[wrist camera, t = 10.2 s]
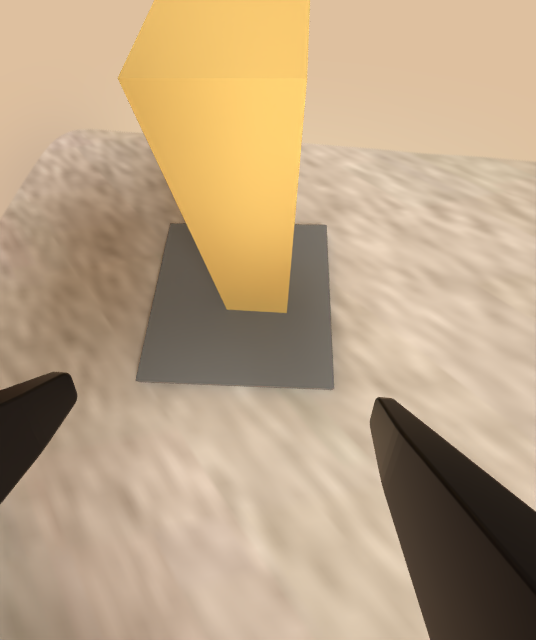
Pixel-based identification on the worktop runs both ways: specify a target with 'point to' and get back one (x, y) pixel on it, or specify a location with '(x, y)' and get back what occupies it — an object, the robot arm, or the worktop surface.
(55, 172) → the worktop surface
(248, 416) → the worktop surface
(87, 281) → the worktop surface
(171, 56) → the ochre post
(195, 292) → the charcoal mat
